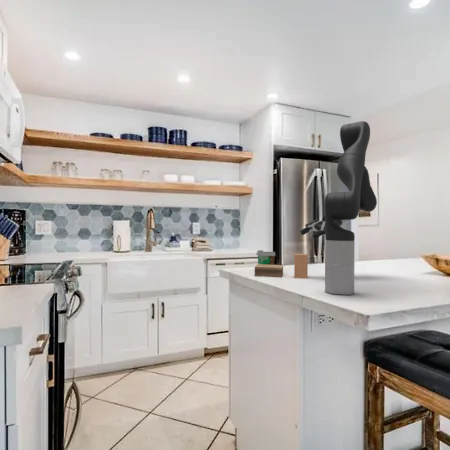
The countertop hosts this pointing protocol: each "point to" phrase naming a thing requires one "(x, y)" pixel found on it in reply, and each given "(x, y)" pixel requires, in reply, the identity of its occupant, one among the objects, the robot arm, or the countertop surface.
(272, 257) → the food container
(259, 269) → the walnut base block
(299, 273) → the orange brick
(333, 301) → the countertop surface
